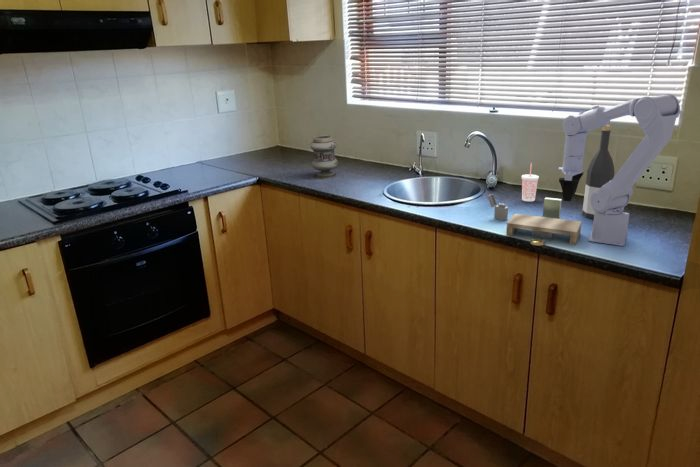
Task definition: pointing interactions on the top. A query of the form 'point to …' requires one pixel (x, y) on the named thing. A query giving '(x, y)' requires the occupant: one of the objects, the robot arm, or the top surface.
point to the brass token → (537, 242)
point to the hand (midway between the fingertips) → (569, 197)
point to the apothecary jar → (324, 156)
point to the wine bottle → (598, 172)
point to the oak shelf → (545, 225)
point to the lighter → (498, 208)
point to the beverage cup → (529, 186)
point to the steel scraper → (549, 214)
